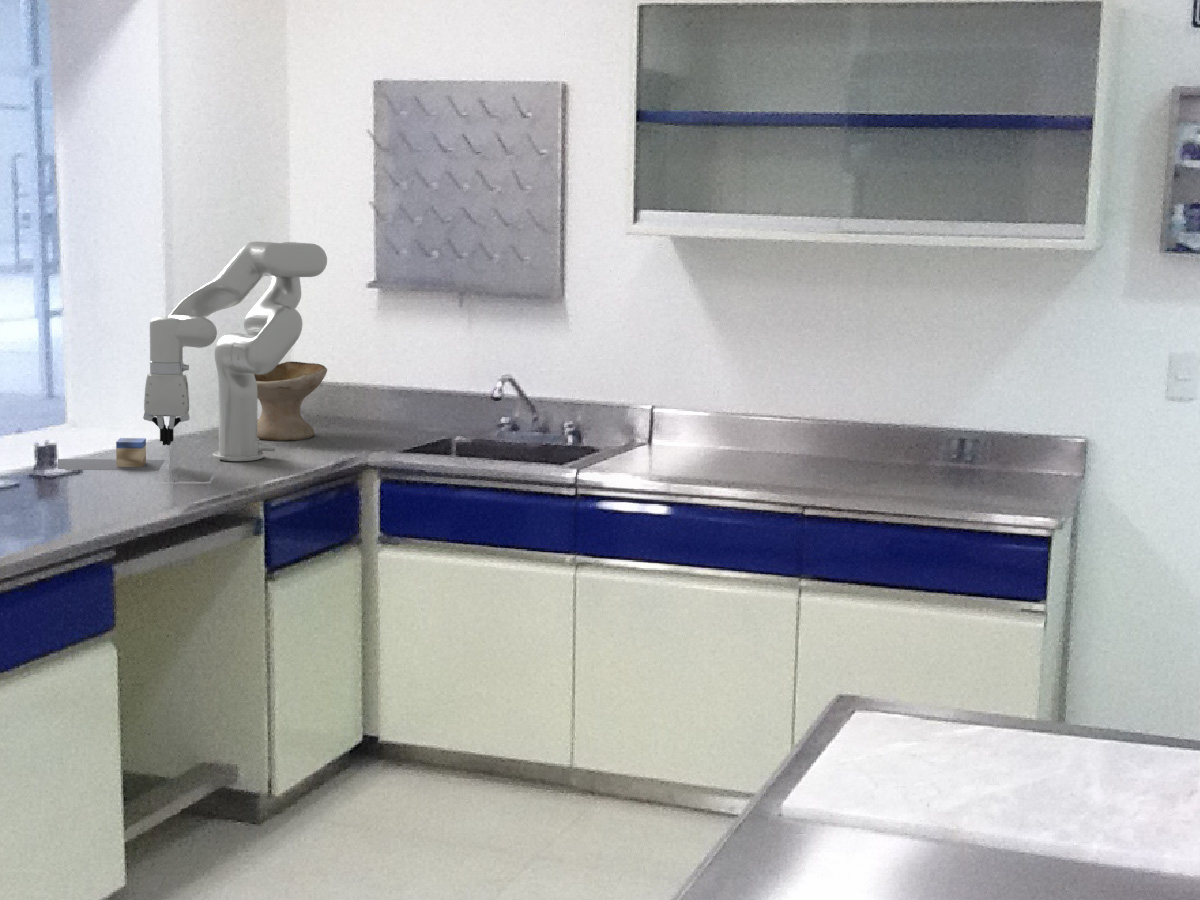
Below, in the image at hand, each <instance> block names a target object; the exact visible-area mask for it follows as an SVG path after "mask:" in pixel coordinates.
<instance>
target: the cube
mask: <svg viewBox="0 0 1200 900" xmlns="http://www.w3.org/2000/svg"><path fill="white" fill-rule="evenodd" d="M115 446H116V447H115V453H116V455H115V456H116V457H115V458H116V464H117V467H143V466H144V465H145V464H146V460H147V438H145V437H144V438H143V437H141V438H139V437H138V438H137V437H135V438H134V437H123V438H122V437H120V438H119V439H118V440H117V441H116V442H115Z"/></svg>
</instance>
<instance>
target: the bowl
mask: <svg viewBox="0 0 1200 900" xmlns="http://www.w3.org/2000/svg"><path fill="white" fill-rule="evenodd" d="M327 373H328V368H327V367H326V366H325V365H323V364H320V363H314V362H312V363H311V362H300V361H285V362H280V363H279V364H278V365H277V366H276V367H275V368H274V369H273V370H272V371H270V372H269V373H266V374H261V375H259V374H254V376H255V379H256V383H257V391H258V397H257V400H259V402H260V405H261V413H260V417H259V418H257V438H259V440H266V441H284V442H285V441H288V442H293V441H295V442H296V441H301V440H307V439H311V438H312V437H315V430H314V428H313V426H311V425H310V424H309V423H308V422H306V420H305V419H304V418H303V416H302V415H301V406H302V403H303V401H304V400H305V398H306V397H308V396H309V395H310V394H311V393H312V392H315V390H316V389H317V388H318V387H319V386H320V385H321V383H322V382H323V380H324V379H325V377H326V375H327Z"/></svg>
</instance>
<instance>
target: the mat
mask: <svg viewBox="0 0 1200 900" xmlns="http://www.w3.org/2000/svg"><path fill="white" fill-rule="evenodd" d="M57 459H58V469H65V470H66V471H67V470H68V471H70V470H71V471H75V470H76V471H78V470H80V471H159V470H160V468H161V467H162V465H164V463H165V461H166V460H165V459H146V464H145V465H144V466H143V467H117V464H116V459H113V458H112V459H108V458H107V459H105V458H103V459H102V458H101V459H100V458H99V459H97V458H95V459H92V458H90V459H89V458H87V459H86V458H84V459H83V458H57ZM65 470H64V471H65Z"/></svg>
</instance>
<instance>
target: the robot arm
mask: <svg viewBox="0 0 1200 900" xmlns="http://www.w3.org/2000/svg"><path fill="white" fill-rule="evenodd" d="M327 265H328V256H327V253H326V251H325V250H324V249H323V248H322V246H320V245H318V244H315V243H308V242H296V241H295V242H294V241H284V242H269V241H252V242H251V241H250V242H247V243H246V244H245V245H243V247H241V249H240V250H239V251H238V252H237V253H236V254H235V255H234V256H233V258H232V259H231V260H230V261H229V262H228V264H227V265H225V267H224V268H223V269H222V270H221V272H220V273H218V275H217V276H216V277H215V278H214V279H213V280H212V281H211V280H210V282H207V283H206V284H204V285H203V286H201V287H199V288H198V289H197V290H195V291H193V292H192V293H190V294H188V295H187V296H186V297H185V298H183V299H182V300H181V301H180V302H179V303H178V304H177V305H176V307H175V308H174V309H173V310H172V311H171V312H170V313H169V315H168V316H159V317H153V318H152V319H151V320H150V321H149V373H147V374H146V375H147V376H146V379H145V387H144V396H143V397H144V399H143V401H144V402H143V411H144V413H143V417H142V418H143V420H144V421H149V422H152V423H153V424H155V425H156V427H158V428H159V442H162V446H170V445H171V444H172V442H174V438H175V437H174V428H175V427H176V426H177V425H179V423H182V422H189V420H190V419H191V417H190V413H189V411H190V393H189V392H190V391H189V382H188V377H187V374H184V372H185V371H190V364H185V363H184V360H183V357H184V355H183V353H184V352H183V349H184V348H185V347H186V348H187V347H188V348H189V347H190V348H197V349H198V348H199V349H200V348H207V347H209V346H211V345H212V344H213V343H214V342H215V340H216V339H217V335H218V331H217V327H216V325H215V323H214V322H213V321H211V320H210V319H209V318H207V317H209V316H210V315H212V314H214V313H216V312H219V311H221V310H226V309H229V308H231V307H235V306H237V305H239V304H241V303H242V302H243V301H244V300H245V299H246V298H247V296H249V294H250V293H251V292H252V291H253V290H254V288H255V287H256V286H257V285H258V284H259V283H260V281H261V280H262V279H263V278H264V277H271V283H270V285H269V287H268V288H267V290H266V291H265V292H264V294H263V295H262V296H261V297H260V298H259V299H258V301H256V303H255V304H254V305H253V306H252V308H251V309H250V310H249V311H248V313H247V314H246V316H245V318H244V321H243V327H244V331H245V332H246V333H239V332H238V333H237V332H232V333H227V334H225V335H223V336H221V337H220V338H219V339H218V340H217V342H216V344H215V347H214V361H215V366H216V372H217V381H218V382H217V384H218V450H216V451H214V452H212V457H213V459H217V460H218V459H219V460H220V461H226V462H251V461H258V460H262V459H263V458H264V456H265V455H264V452H276V444H275V443H268V442H267V443H263V442H260V439H259V438H257V420H258V398H257V397H258V391H257V383H256V379H255V376H254V374H259V375H261V374H266V373H269V372H270V371H272V370H273V369H274V368H275V367H276V366H277V365H278V364H280V363H281V362H282V360H283V359H284V357H285V356H286V355H287V354H288V353H289V351H290V350H291V349H292V348H293V346H294V345H295V344H296V342H297V341H298V339H299V338H300V336H301V334H302V329H303V318H302V316H301V314H300V313H299V311H298V310H297V309H296V308H297V307H298V305H299V304H300V301H301V299H302V287H301V286H302V285H301V278H315V277H318V276H319V275H321V274H323V272H324V271H325V270H326V267H327ZM165 417H169V420H168V426H167V425H166V423H165Z"/></svg>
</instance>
